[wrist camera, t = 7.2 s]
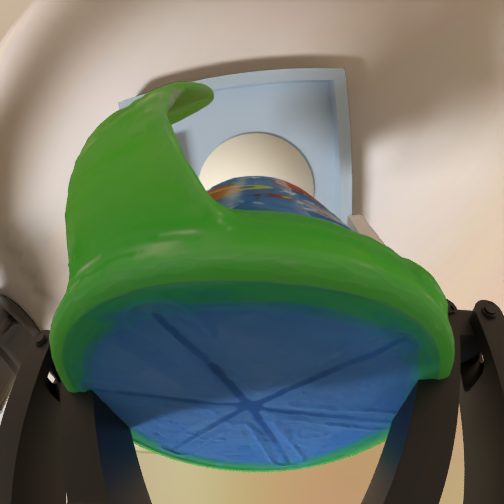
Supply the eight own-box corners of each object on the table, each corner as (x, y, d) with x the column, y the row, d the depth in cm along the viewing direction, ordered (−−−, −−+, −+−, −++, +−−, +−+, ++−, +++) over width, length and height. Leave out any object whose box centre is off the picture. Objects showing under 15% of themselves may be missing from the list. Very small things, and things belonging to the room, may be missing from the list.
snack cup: (356, 326, 17) (394, 463, 8) (210, 349, 19) (187, 481, 10) (330, 73, 10) (493, 17, 1) (120, 130, 12) (-57, 201, 3)
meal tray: (176, 287, 29) (170, 302, 27) (131, 102, 20) (117, 102, 17) (341, 273, 28) (347, 287, 26) (336, 72, 18) (345, 68, 16)
